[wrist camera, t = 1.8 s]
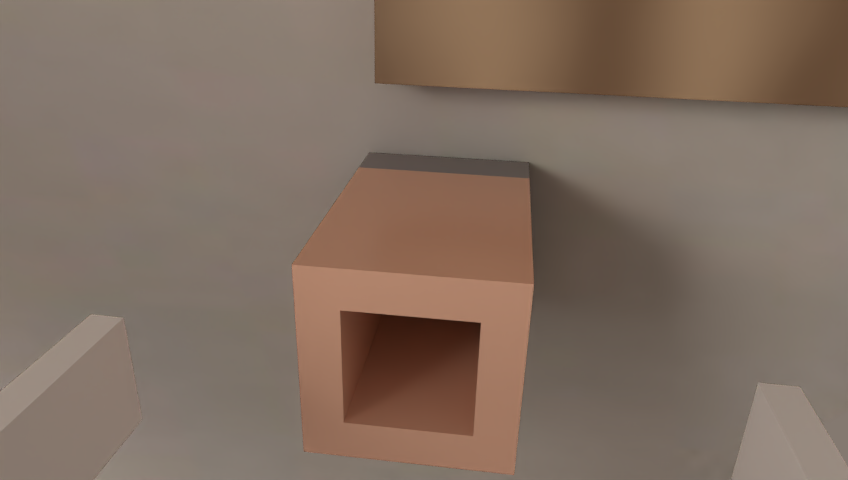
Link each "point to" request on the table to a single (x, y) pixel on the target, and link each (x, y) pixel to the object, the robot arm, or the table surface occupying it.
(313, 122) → the table surface
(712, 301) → the table surface
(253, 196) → the table surface
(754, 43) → the pin board
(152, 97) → the table surface
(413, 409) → the terracotta sleeve
